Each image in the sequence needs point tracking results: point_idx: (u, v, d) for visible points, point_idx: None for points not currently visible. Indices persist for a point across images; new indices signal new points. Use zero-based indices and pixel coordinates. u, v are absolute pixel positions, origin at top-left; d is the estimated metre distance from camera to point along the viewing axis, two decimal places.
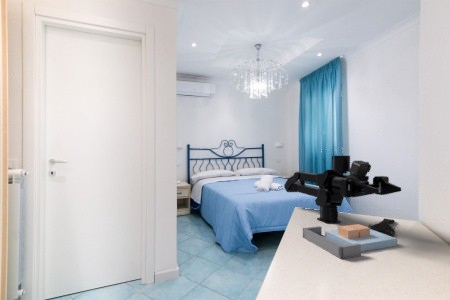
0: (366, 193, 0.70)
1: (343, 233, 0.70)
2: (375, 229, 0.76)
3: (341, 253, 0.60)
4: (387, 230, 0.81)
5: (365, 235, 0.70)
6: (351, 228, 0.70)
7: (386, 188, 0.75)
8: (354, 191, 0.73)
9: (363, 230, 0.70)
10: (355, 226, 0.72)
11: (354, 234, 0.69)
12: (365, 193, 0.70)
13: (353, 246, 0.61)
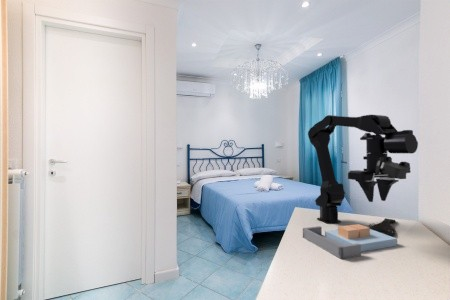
0: (364, 192, 0.75)
1: (343, 233, 0.70)
2: (375, 229, 0.76)
3: (341, 253, 0.60)
4: (389, 230, 0.81)
5: (365, 235, 0.70)
6: (351, 228, 0.70)
7: (382, 186, 0.76)
8: (362, 181, 0.74)
9: (363, 230, 0.70)
10: (355, 226, 0.72)
11: (354, 234, 0.69)
12: (364, 191, 0.75)
13: (353, 246, 0.61)
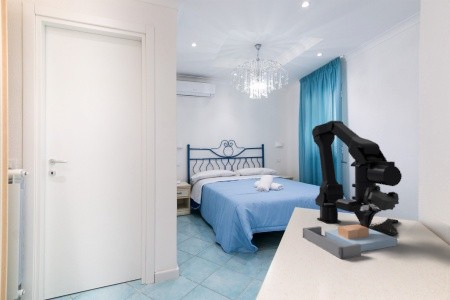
0: (359, 220, 0.74)
1: (343, 233, 0.70)
2: (376, 228, 0.77)
3: (341, 253, 0.60)
4: (389, 230, 0.81)
5: (364, 235, 0.70)
6: (351, 228, 0.70)
7: None
8: None
9: (362, 230, 0.70)
10: (354, 226, 0.72)
11: (354, 234, 0.69)
12: (359, 219, 0.74)
13: (353, 246, 0.61)
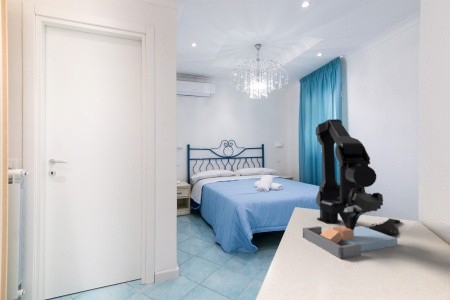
0: (344, 221, 0.72)
1: None
2: (377, 228, 0.77)
3: (341, 253, 0.60)
4: (390, 230, 0.81)
5: (349, 237, 0.68)
6: (332, 232, 0.68)
7: None
8: None
9: (346, 232, 0.68)
10: (339, 228, 0.70)
11: (337, 238, 0.67)
12: (343, 221, 0.72)
13: (353, 246, 0.61)
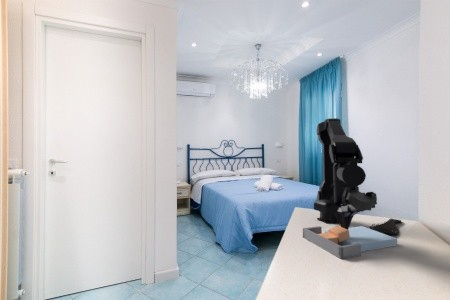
0: (338, 221, 0.71)
1: None
2: (377, 228, 0.77)
3: (341, 253, 0.60)
4: (391, 230, 0.81)
5: (345, 238, 0.68)
6: (330, 236, 0.68)
7: None
8: None
9: (342, 234, 0.67)
10: (334, 230, 0.70)
11: None
12: (338, 220, 0.71)
13: (353, 246, 0.61)
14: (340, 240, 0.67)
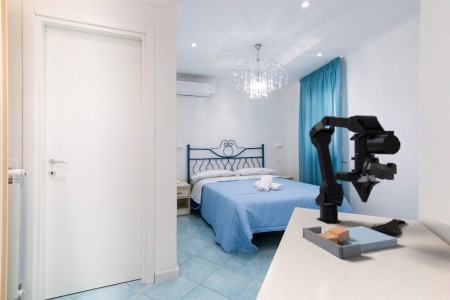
0: (357, 192, 0.75)
1: None
2: (378, 228, 0.77)
3: (341, 253, 0.60)
4: (393, 230, 0.81)
5: (345, 238, 0.68)
6: (330, 236, 0.68)
7: None
8: (355, 182, 0.74)
9: (342, 234, 0.67)
10: (334, 230, 0.70)
11: None
12: (357, 191, 0.75)
13: (353, 246, 0.61)
14: (340, 240, 0.67)
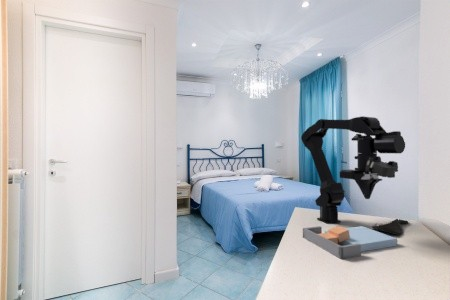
0: (361, 189, 0.79)
1: None
2: (379, 228, 0.78)
3: (341, 253, 0.60)
4: (395, 230, 0.81)
5: (345, 238, 0.68)
6: (330, 236, 0.68)
7: None
8: (359, 179, 0.79)
9: (342, 234, 0.67)
10: (334, 230, 0.70)
11: None
12: (361, 188, 0.79)
13: (353, 246, 0.61)
14: (340, 240, 0.67)
